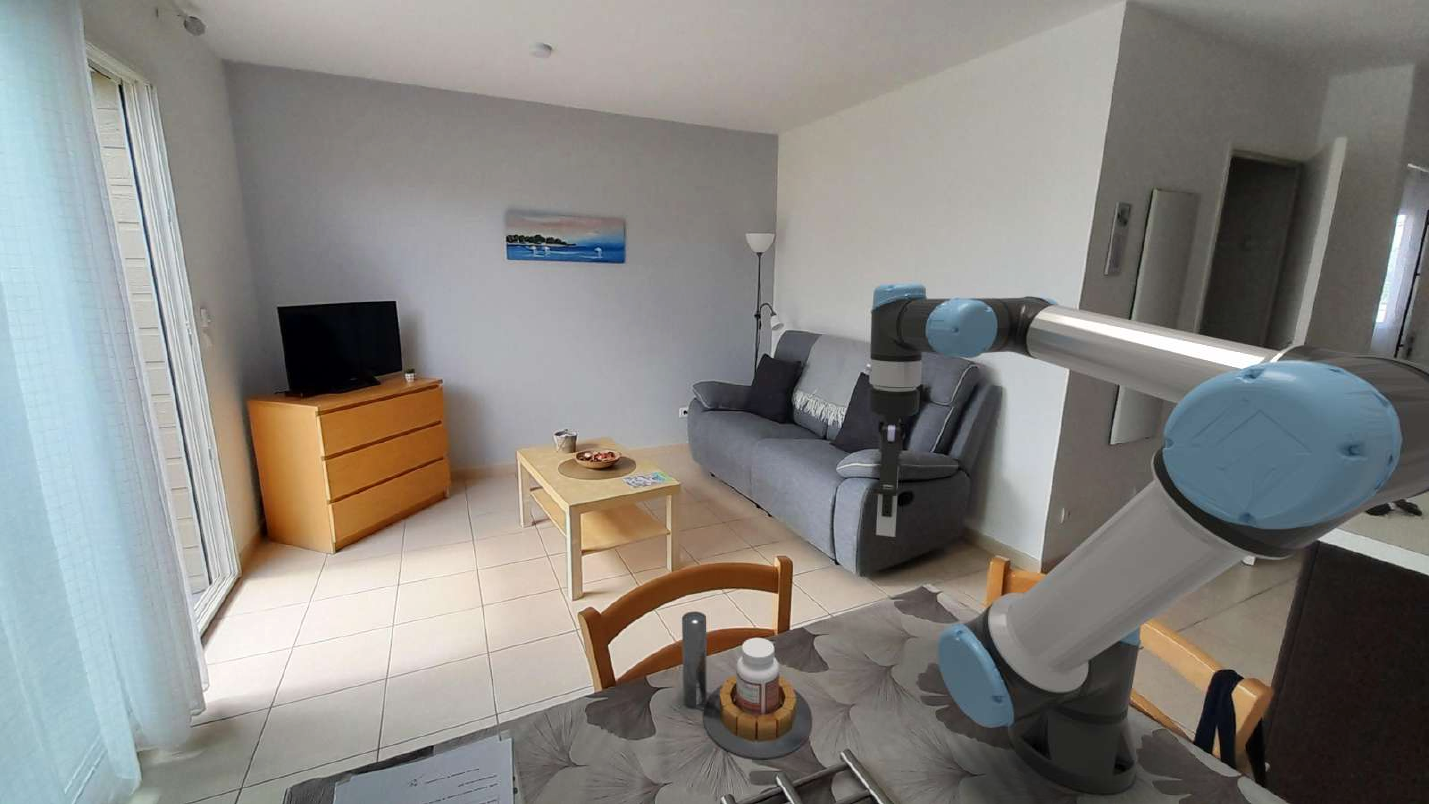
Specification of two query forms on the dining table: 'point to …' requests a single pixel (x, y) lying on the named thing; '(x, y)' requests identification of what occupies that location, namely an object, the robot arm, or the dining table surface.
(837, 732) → the dining table surface
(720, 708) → the round base with peg
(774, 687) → the pill bottle
